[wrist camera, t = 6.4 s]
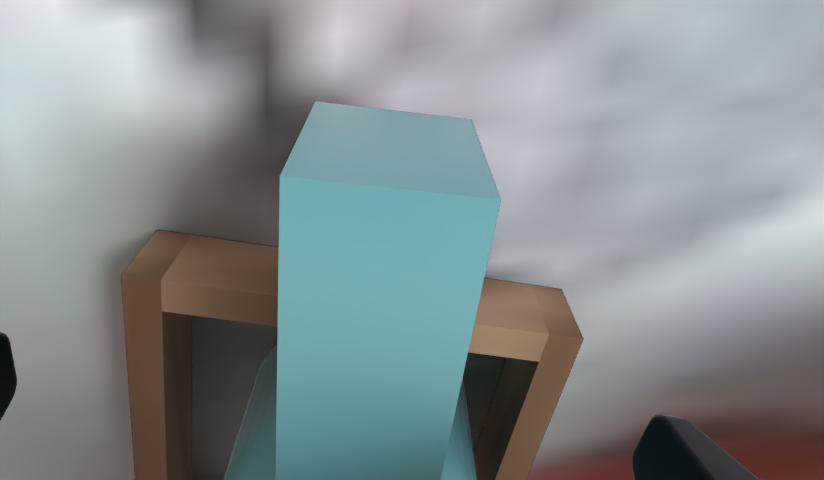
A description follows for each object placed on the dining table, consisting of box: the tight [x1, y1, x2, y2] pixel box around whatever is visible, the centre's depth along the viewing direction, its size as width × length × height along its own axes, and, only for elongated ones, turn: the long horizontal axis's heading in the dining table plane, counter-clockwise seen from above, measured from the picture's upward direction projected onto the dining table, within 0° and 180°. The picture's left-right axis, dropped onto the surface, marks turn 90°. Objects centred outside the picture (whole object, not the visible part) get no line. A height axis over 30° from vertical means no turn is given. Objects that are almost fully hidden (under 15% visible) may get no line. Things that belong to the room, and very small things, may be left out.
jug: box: [223, 101, 501, 480], centre depth 11 cm, size 12×6×10 cm, turn 173°
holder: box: [121, 230, 583, 480], centre depth 16 cm, size 10×10×2 cm
